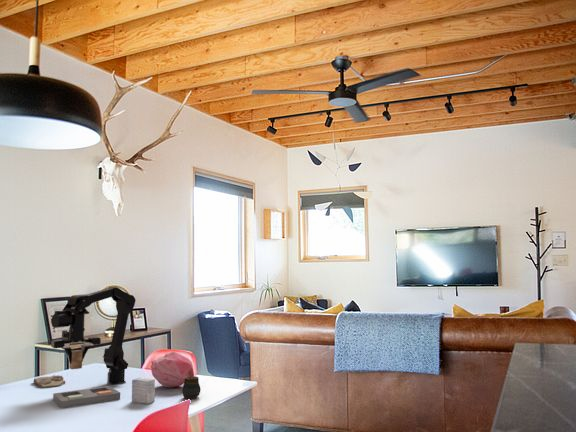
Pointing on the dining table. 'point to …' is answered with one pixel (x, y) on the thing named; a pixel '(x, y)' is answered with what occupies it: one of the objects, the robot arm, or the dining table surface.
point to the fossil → (49, 381)
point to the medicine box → (143, 390)
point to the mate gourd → (191, 387)
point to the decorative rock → (171, 369)
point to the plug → (76, 359)
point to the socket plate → (86, 396)
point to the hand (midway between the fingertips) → (75, 363)
